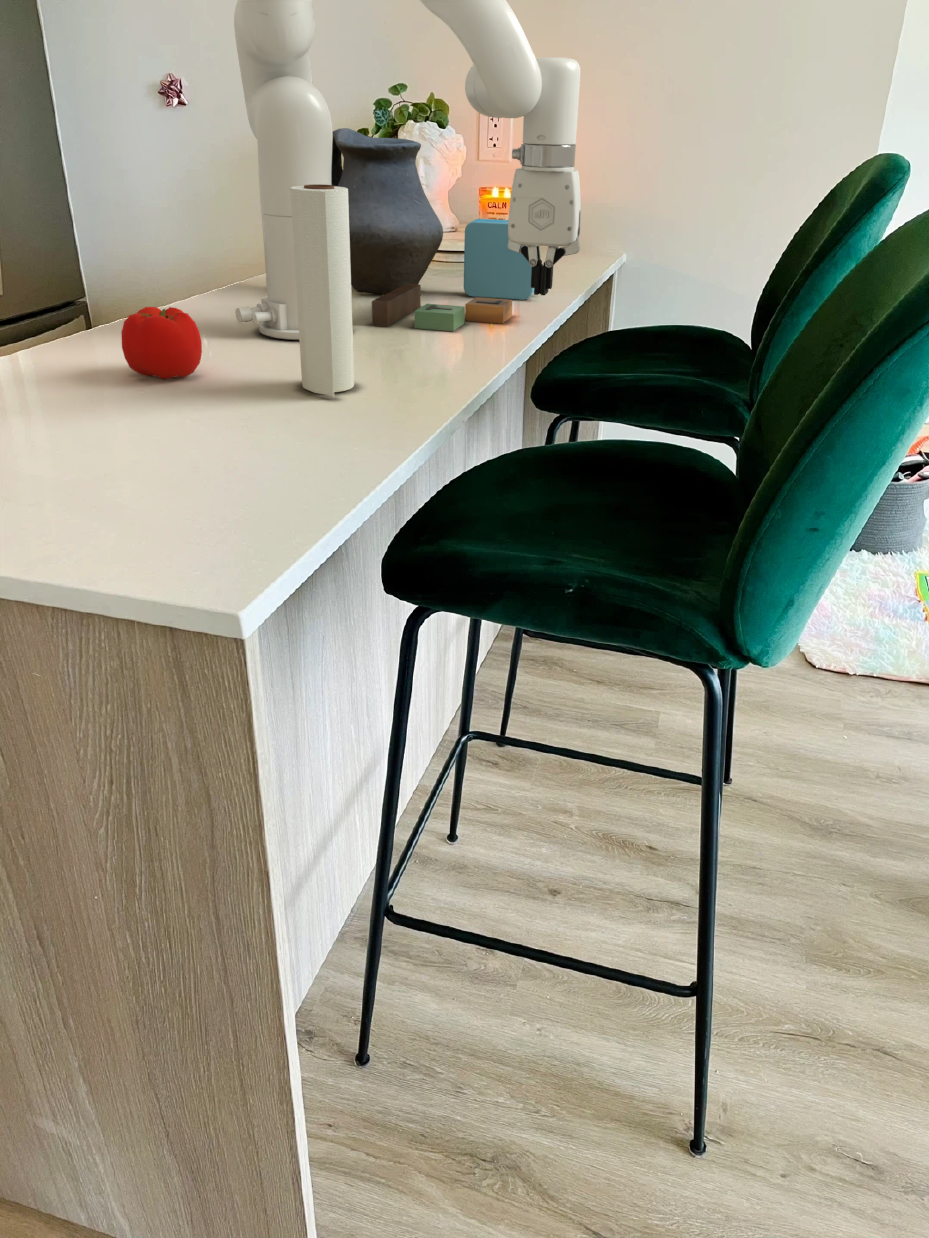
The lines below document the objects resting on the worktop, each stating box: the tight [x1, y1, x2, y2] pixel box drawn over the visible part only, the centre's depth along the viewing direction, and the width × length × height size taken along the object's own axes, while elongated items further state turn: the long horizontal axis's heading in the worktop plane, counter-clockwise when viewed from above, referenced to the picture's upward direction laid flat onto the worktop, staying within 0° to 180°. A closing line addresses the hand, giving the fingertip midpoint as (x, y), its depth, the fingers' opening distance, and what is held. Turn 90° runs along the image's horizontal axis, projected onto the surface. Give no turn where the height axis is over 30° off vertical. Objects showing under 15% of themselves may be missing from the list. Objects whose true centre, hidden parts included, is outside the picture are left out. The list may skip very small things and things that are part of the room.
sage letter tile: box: [414, 303, 465, 332], centre depth 140 cm, size 6×6×3 cm
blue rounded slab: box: [463, 218, 534, 301], centre depth 160 cm, size 12×4×12 cm, turn 78°
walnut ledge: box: [371, 283, 422, 327], centre depth 146 cm, size 16×2×4 cm, turn 165°
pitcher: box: [331, 127, 444, 296], centre depth 159 cm, size 21×22×25 cm
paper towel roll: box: [290, 184, 355, 398], centre depth 104 cm, size 7×6×21 cm
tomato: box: [121, 306, 203, 380], centre depth 111 cm, size 9×9×8 cm
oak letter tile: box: [464, 297, 514, 324], centre depth 146 cm, size 6×6×3 cm
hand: (541, 293), depth 143 cm, fingers closed
